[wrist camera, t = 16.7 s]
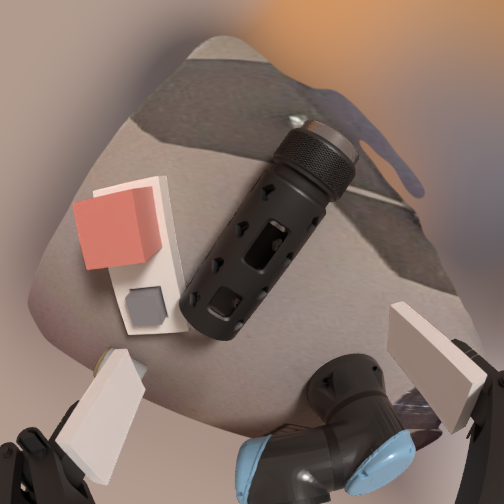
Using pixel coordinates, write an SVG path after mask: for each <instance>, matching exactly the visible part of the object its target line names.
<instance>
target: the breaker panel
mask: <svg viewBox="0 0 504 504" xmlns="http://www.w3.org/2000/svg"><path fill="white" fill-rule="evenodd" d="M150 186H152V188H153V195H154V202H155V208H156V214H157V220H158V226H159V231H160V237H161V242H162V248H160V249H159V250H158V251H157V252H156V253H155V254H154V255H153V256H152V257H151V258H150V259H149V260H148V261H147V262H146V263H138V264H130V265H122V266H115V267H108V269H109V273H110V277H111V281H112V285H113V288H114V292H115V295H116V298H117V302H118V305H119V308H120V311H121V315H122V318H123V321H124V324H125V327H126V330H127V333H128V335H138V334H159V333H175V332H189V330H190V326H191V324H190V323H189V322H188V321H187V320H186V319H185V318H184V316H183V315H182V313H181V311H180V308H179V299H180V298H181V296H182V295H183V293H184V291H185V290H186V285H185V280H184V276H183V271H182V266H181V261H180V255H179V250H178V245H177V239H176V234H175V228H174V222H173V216H172V210H171V204H170V197H169V191H168V184H167V176H156V177H151V178H146V179H141V180H137V181H132V182H128V183H123V184H119V185H115V186H111V187H107V188H103V189H99V190H95V191H93V196H94V198H95V197H99V196H103V195H107V194H111V193H116V192H120V191H125V190H129V189H135V188H142V187H150ZM154 286H161V290H162V294H163V298H164V302H165V306H166V310H167V316H166V318H165V320H164V322H163V324H162V325H150V326H133V323H132V320H131V317H130V314H129V310H128V307H127V304H126V300H125V297H126V296H127V295H128V294H129V293H130V292H131V290H132V289H135V288H145V287H154Z"/></svg>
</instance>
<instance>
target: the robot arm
mask: <svg viewBox="0 0 504 504" xmlns="http://www.w3.org/2000/svg"><path fill="white" fill-rule="evenodd" d="M387 351H388V352H389V353H390V354H391V356H392V357H393V358H394V359H395V361H396V362H397V363H398V365H399V366H400V367H401V368H402V370H403V371H404V372H405V373H406V375H407V376H408V377H409V379H410V380H411V381H412V383H413V384H414V385H415V386H416V388H417V389H418V390H419V392H420V393H421V394H422V396H423V397H424V398H425V400H426V401H427V402H428V404H429V405H430V406H431V408H432V409H433V410H434V412H435V413H436V415H437V416H438V417H439V419H440V420H441V421H442V423H443V424H444V426H445V427H446V428H447V430H448V431H449V432H450V434H451V435H452V434H453V433H455V432H457V431H459V430H460V429H462V428H464V427H465V426H466V424H467V422H468V420H469V418H470V416H471V417H472V419H473V420H474V423H473V425H472V427H471V429H470V431H469V433H468V435H467V437H466V438H467V439H468V438H469V436H470V435H471V438H470V444H469V450H468V454H467V460H466V464H465V468H464V472H463V476H462V480H461V484H460V488H459V491H458V494H457V498H456V501H455V504H504V371H500V372H498V371H497V370H496V369H495V368H494V367H492V366H491V365H490V364H489V363H488V362H487V361H486V360H485V359H483V358H482V357H481V356H480V355H478V353H476V352H475V351H474V350H472V348H471V347H469V346H468V345H467V344H466V343H464V342H462V341H459V340H457V339H454V340H451V341H450V340H448V339H447V338H446V337H445V336H444V335H443V334H442V333H440V332H439V331H438V330H437V329H436V328H434V327H433V326H432V325H431V324H430V323H429V322H427V321H426V320H425V319H424V318H423V317H421V316H420V315H419V314H418V313H417V312H415V311H414V310H413V309H412V308H410V307H409V306H408V305H407V304H405V303H404V302H403V301H402V302H398V303H395V304H391V305H390V315H389V334H388V348H387ZM144 392H145V388H144V386H143V384H142V382H141V379H140V377H139V375H138V373H137V371H136V369H135V366H134V364H133V362H132V360H131V357H130V355H129V353H128V350H127V349H115V350H114V351H113V352H112V354H111V355H110V357H109V358H108V360H107V361H106V363H105V364H104V365H103V367H102V368H101V370H100V371H99V373H98V374H97V376H96V377H95V379H94V380H93V382H92V383H91V385H90V386H89V388H88V389H87V391H86V392H85V394H84V395H83V397H82V398H81V400H80V401H79V400H78V401H77V402H75V403H74V404H73V405H72V406H71V407H70V408H69V409H68V411H67V412H66V414H65V416H64V417H63V418H62V420H61V421H62V422H60V423H59V425H58V426H57V428H56V429H55V431H54V433H53V434H52V436H51V437H50V439H49V441H47V439H46V438H45V437H44V436H43V434H42V433H41V432H40V431H39V429H37V428H35V427H30V428H26V429H24V430H23V431H22V432H21V433H20V434H19V435H18V437H17V440H16V442H17V444H18V445H19V446H20V447H21V448H22V449H23V451H20V450H19V448H18V447H17V446H16V445H15V444H14V443H12V442H8V443H4V444H2V445H1V447H0V504H95V502H94V500H93V497H92V495H91V493H90V490H89V488H88V486H87V484H86V482H85V481H84V480H83V478H84V476H85V475H86V476H87V477H88V478H89V479H90V480H91V481H92V482H95V483H99V484H104V485H108V483H109V480H110V477H111V475H112V472H113V469H114V467H115V464H116V461H117V459H118V456H119V454H120V451H121V448H122V446H123V443H124V441H125V438H126V436H127V433H128V431H129V428H130V426H131V423H132V421H133V418H134V416H135V413H136V411H137V409H138V406H139V404H140V401H141V399H142V397H143V394H144ZM307 397H308V400H309V403H310V406H311V408H312V409H313V410H314V412H315V413H316V414H317V415H318V416H319V417H320V418H321V419H322V420H323V422H324V423H325V424H326V425H324V426H319V427H315V428H311V429H306V430H300V431H295V432H289V433H283V434H277V435H273V434H269V435H268V436H265V437H259V438H253V439H249V440H247V441H245V442H244V443H243V444H242V446H241V447H240V450H239V453H238V457H237V462H236V471H235V488H236V492H237V500H238V502H239V503H240V504H330V503H331V499H330V494H329V493H330V492H332V491H335V490H339V489H343V488H344V489H345V491H346V492H347V493H348V494H349V495H351V496H357V495H363V494H367V493H369V492H372V491H374V490H377V489H379V488H381V487H382V486H384V485H386V484H388V483H389V482H391V481H392V480H394V479H395V478H396V477H398V476H399V475H400V474H401V473H402V472H403V471H404V470H405V469H406V468H407V467H408V466H409V465H410V463H411V462H412V460H413V458H414V456H415V446H414V443H413V441H412V439H411V437H410V433H409V431H408V430H407V429H406V427H405V426H404V424H403V422H402V421H401V419H400V417H399V416H398V414H397V412H396V411H395V409H394V407H393V406H392V404H391V402H390V401H389V399H388V397H387V396H386V390H385V383H384V375H383V372H382V369H381V368H380V366H379V364H378V363H377V362H376V360H375V359H373V358H372V357H370V356H368V355H365V354H349V355H345V356H341V357H338V358H336V359H334V360H332V361H330V362H328V363H327V364H325V365H324V366H323V367H321V368H320V369H319V370H318V371H317V372H316V373H315V374H314V375H313V377H312V378H311V380H310V382H309V384H308V387H307ZM21 483H22V484H23V485H24V486H25V487H26V490H25V491H23V490H22V489H21Z"/></svg>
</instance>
